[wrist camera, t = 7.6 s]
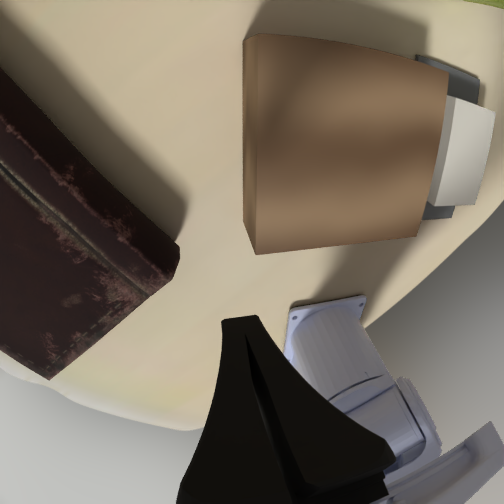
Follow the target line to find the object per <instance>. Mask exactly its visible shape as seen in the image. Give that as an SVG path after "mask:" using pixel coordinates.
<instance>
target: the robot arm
mask: <svg viewBox="0 0 504 504" xmlns="http://www.w3.org/2000/svg"><path fill="white" fill-rule="evenodd" d="M366 300H367V298H366V296H365V295H360V296H355V297H350V298H345V299H340V300H335V301H329V302H324V303H318V304H312V305H307V306H301V307H295V308H292V309H291V310H290V311H289V316H288V323H287V331H286V338H285V345H284V352H283V353H282V352H281V351H280V349H279V348H278V347H277V345H276V344H275V342H274V341H273V340H272V338H271V337H270V335H269V334H268V332H267V331H266V329H265V327H264V326H263V324H262V322H261V320H260V319H259V317H258V316H257V315H251V316H244V317H236V318H229V319H224V320H222V321H221V325H222V351H221V359H220V367H219V373H218V378H217V383H216V388H215V392H214V396H213V400H212V404H211V407H210V411H209V414H208V417H207V420H206V424H205V427H204V430H203V432H202V435H201V438H200V440H199V443H198V446H197V448H196V450H195V453H194V455H193V458H192V460H191V462H190V465H189V466H188V469H187V471H186V473H185V475H184V477H183V479H182V481H181V483H180V488H179V491H178V496H177V500H176V504H464V503H465V502H466V501H467V500H469V499H470V498H471V497H472V496H473V495H474V494H475V493H476V492H477V491H478V490H479V489H480V488H481V487H482V486H483V485H484V484H485V483H486V482H487V481H488V480H489V479H490V478H491V477H493V476H494V475H495V474H496V473H497V472H498V471H499V470H500V469H501V468H502V467H503V466H504V444H503V442H502V441H501V439H500V437H499V435H498V433H497V431H496V429H495V427H494V426H493V424H492V422H491V421H489V422H488V423H487V424H485V425H484V426H483V427H482V428H480V429H479V430H477V431H476V432H475V433H473V434H472V435H471V436H469V437H468V438H467V439H465V441H463V442H462V443H460V444H459V445H457V446H456V447H454V448H453V449H451V450H450V451H448V452H447V453H445V454H443V455H442V456H440V454H441V451H442V450H441V448H440V447H441V445H442V442H441V440H440V438H439V436H438V434H437V432H436V426H435V424H434V422H433V420H432V418H431V416H430V414H429V413H428V411H427V408H426V406H425V405H424V403H423V401H422V399H421V397H420V396H419V394H418V392H417V390H416V389H415V387H414V385H413V383H412V382H411V380H410V379H409V378H403V377H399V378H398V379H396V381H397V383H398V385H399V387H400V389H399V387H398V385H397V383H396V382H395V381H394V379H393V378H392V376H391V375H390V373H389V372H388V370H387V368H386V366H385V364H384V363H383V361H382V359H381V357H380V355H379V354H378V352H377V350H376V348H375V347H374V345H373V344H372V342H371V340H370V338H369V336H368V335H367V333H366V331H365V329H364V328H363V326H362V324H361V323H360V321H359V320H360V318H361V315H362V312H363V309H364V306H365V303H366ZM439 456H440V457H439Z"/></svg>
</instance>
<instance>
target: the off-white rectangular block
mask: <svg viewBox="0 0 504 504" xmlns="http://www.w3.org/2000/svg"><path fill="white" fill-rule="evenodd" d="M495 114H496V112H493V111H491V110H488V109H486V108H483V107H481V106H478V105H475V104H473V103H470V102H467V101H464V100H461V99H458V98H455V97H452V96H448V95H447V98H446V106H445V114H444V120H443V127H442V133H441V139H440V144H439V149H438V154H437V159H436V164H435V169H434V173H433V177H432V182H431V186H430V190H429V194H428V198H427V201H428V202H429V203H431V204H432V205H433V206H455V205H475V202H476V199H477V196H478V192H479V189H480V185H481V181H482V178H483V174H484V170H485V166H486V162H487V157H488V153H489V148H490V143H491V138H492V133H493V127H494V121H495Z"/></svg>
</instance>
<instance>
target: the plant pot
mask: <svg viewBox="0 0 504 504" xmlns="http://www.w3.org/2000/svg"><path fill="white" fill-rule="evenodd" d="M464 1H468V2H474V3H479V4H485V5H489V6H494V7H498V8H502V9H504V0H464Z"/></svg>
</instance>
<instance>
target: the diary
mask: <svg viewBox="0 0 504 504" xmlns="http://www.w3.org/2000/svg"><path fill="white" fill-rule="evenodd" d="M179 260H180V247H179V246H178V245H177V244H176V243H175V242H174V241H173V240H172V239H171V238H169V237H168V236H167V235H166V234H165V233H164V232H163V231H162V230H161V229H159V228H158V227H157V226H156V225H155V224H154V223H153V222H152V221H151V220H149V219H148V218H147V217H146V216H145V215H144V214H143V213H142V212H141V211H139V210H138V209H137V208H136V207H135V206H134V205H133V204H132V203H131V202H130V201H129V200H127V199H126V198H125V197H124V196H123V195H122V194H121V193H120V192H119V191H118V190H117V189H116V188H115V187H114V186H112V185H111V184H110V183H109V182H108V181H107V180H106V179H105V178H104V177H103V176H102V175H101V174H100V173H99V172H98V171H97V170H96V169H95V168H94V167H93V166H92V165H91V164H90V163H89V161H88V160H87V159H86V158H85V157H84V156H83V155H82V154H81V153H80V152H79V151H78V150H77V149H76V148H75V147H74V146H73V145H72V143H71V142H70V141H69V140H68V139H67V138H66V137H65V136H64V135H63V134H62V133H61V132H60V131H59V129H58V128H57V127H56V126H55V125H54V124H53V123H52V122H51V121H50V119H49V118H48V117H47V116H46V115H45V114H44V113H43V112H42V111H41V110H40V109H39V108H38V107H37V106H36V105H35V104H34V103H33V102H32V101H31V100H30V98H29V97H28V96H27V95H26V94H25V93H24V92H23V91H22V90H21V89H20V88H19V87H18V86H17V85H16V84H15V83H14V82H13V81H12V79H11V78H10V77H9V76H8V75H7V74H6V73H5V72H4V71H3V70H2V69H1V68H0V350H1V351H3V352H4V353H5V354H7V355H8V356H10V357H11V358H13V359H14V360H16V361H18V362H19V363H21V364H22V365H24V366H26V367H27V368H29V369H30V370H32V371H34V372H35V373H37V374H39V375H41V376H42V377H44V378H46V379H48V380H50V379H52V378H53V377H54V376H55V375H57V374H58V373H59V372H60V371H62V370H63V369H64V368H65V367H67V366H68V365H69V364H70V363H72V362H73V361H74V360H75V359H77V358H78V357H79V356H80V355H82V354H83V353H84V352H85V351H87V350H88V349H89V348H90V347H92V346H93V345H94V344H95V343H96V342H98V341H99V340H100V339H101V338H102V337H103V336H104V335H106V334H107V333H108V332H109V331H110V330H111V329H113V328H114V327H115V326H116V325H117V324H119V323H120V322H121V321H122V320H123V319H124V318H126V317H127V316H128V315H129V314H130V313H131V312H133V311H134V310H135V309H136V308H137V307H138V306H140V305H141V304H142V303H143V302H144V301H145V300H147V299H148V298H149V297H150V296H152V295H153V294H154V293H156V292H157V291H158V290H159V289H161V288H162V287H163V286H164V285H166V284H167V283H168V282H170V281H171V280H172V279H173V277H174V274H175V271H176V268H177V266H178V263H179Z"/></svg>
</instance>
